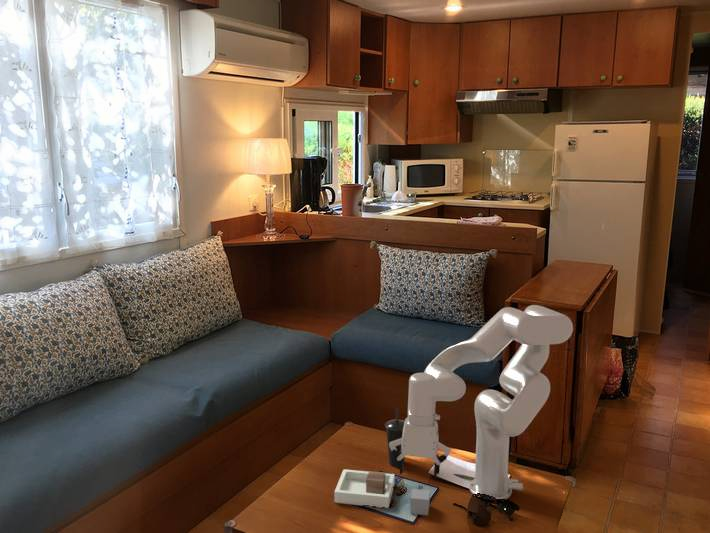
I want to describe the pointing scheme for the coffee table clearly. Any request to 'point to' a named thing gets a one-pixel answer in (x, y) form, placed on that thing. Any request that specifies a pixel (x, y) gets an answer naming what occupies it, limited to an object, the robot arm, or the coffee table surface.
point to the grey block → (420, 501)
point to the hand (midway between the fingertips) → (418, 473)
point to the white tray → (361, 490)
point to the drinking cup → (394, 436)
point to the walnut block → (376, 482)
